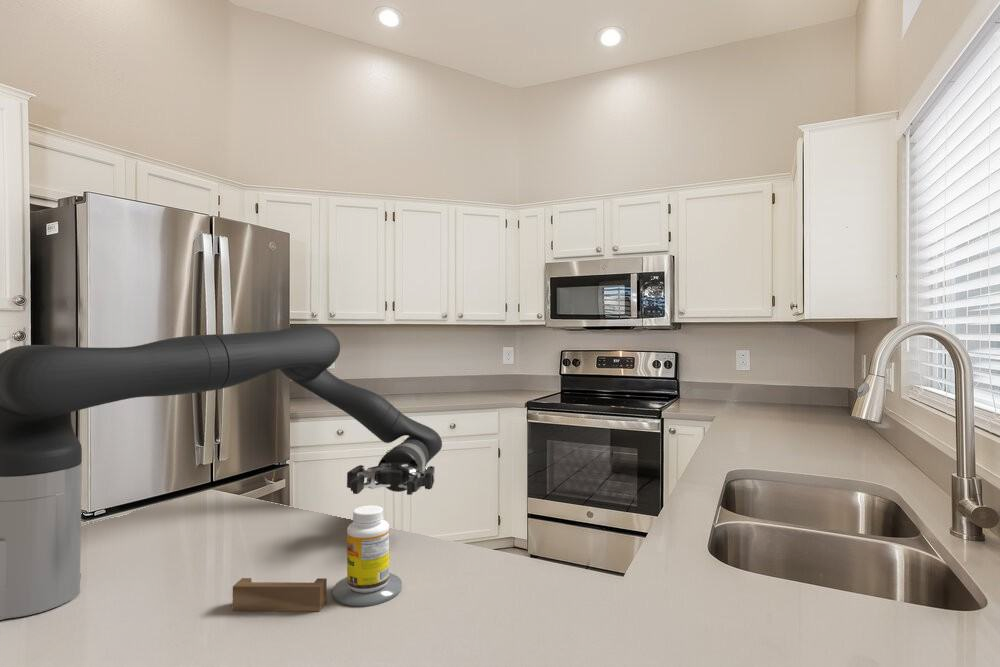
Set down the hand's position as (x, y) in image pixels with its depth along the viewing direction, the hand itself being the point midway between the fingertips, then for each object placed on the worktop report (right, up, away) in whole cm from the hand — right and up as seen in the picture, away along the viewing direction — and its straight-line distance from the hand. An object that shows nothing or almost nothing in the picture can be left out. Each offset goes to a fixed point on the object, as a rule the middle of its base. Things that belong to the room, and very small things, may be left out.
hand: (382, 488), depth 83 cm
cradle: (-10, -10, -16) cm, 21 cm away
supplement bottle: (+1, -10, -11) cm, 15 cm away
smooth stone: (+1, -10, -12) cm, 16 cm away
